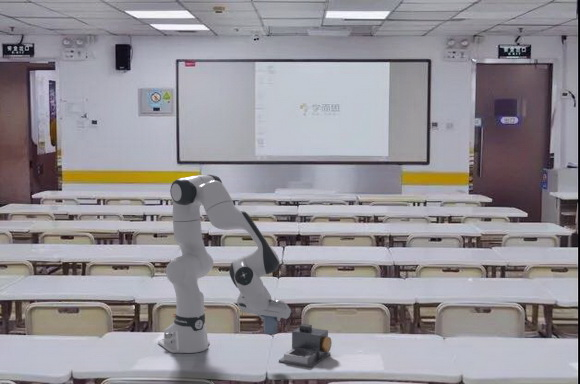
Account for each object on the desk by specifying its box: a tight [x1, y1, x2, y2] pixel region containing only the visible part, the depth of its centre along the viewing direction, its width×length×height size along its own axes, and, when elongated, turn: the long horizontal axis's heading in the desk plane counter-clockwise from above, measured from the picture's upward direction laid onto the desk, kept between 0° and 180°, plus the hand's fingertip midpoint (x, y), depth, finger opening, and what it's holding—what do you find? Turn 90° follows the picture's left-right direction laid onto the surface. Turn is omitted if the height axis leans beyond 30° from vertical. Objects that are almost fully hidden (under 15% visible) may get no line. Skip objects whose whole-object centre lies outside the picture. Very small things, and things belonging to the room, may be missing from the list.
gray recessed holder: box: [278, 323, 332, 368], centre depth 293 cm, size 15×18×12 cm
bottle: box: [263, 315, 278, 335], centre depth 286 cm, size 5×5×12 cm
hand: (271, 318), depth 286 cm, fingers closed on bottle, 5 cm apart
